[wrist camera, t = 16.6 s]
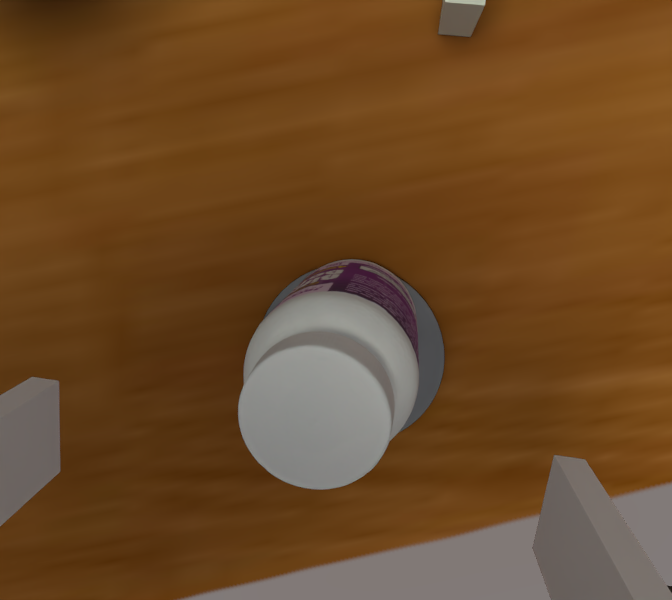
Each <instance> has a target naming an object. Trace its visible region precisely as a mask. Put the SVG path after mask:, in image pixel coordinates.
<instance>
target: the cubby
mask: <svg viewBox="0 0 672 600" xmlns="http://www.w3.org/2000/svg"><path fill="white" fill-rule="evenodd" d="M485 1H486V0H443V3H442V10H441V17H440V24H439V31H438V34H443V35H454V36H465V37H471V35H472V33H473V30H474V28H475V26H476V24H477V22H478V19H479V17H480V15H481V13H482V11H483V8H484V6H485Z"/></svg>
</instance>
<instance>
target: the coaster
mask: <svg viewBox="0 0 672 600" xmlns="http://www.w3.org/2000/svg"><path fill="white" fill-rule="evenodd" d="M317 269H319V268H317ZM317 269H314V270H312V271H310V272H308V273H306V274H304V275H302V276H300V277H299V278H297V279H296V280H294V281H293V282H292V283H290V284H289V285H288V286H287V287H286V288H285V289H284V290H283V291H282V292H281V293H280V294H279V295H278V296H277V298H276V299H275V300H274V301H273V303H272V304H271V306H270V307H269V309H268V311H267V313H266V315H265V317H264V319H265V318H266V317H267V316H268V314H269V313H270V312H271V311H272V310H273V309H274V308H275V307H276V306H277V305H278V304H279V303H280V302H282V300H283V299H284V298H285V297H287V296H288V295H289V294H290V293H291V292H292V291H293V290H294V289H295V288H296V287H297V286H298V285H299V284H300V283H301V282H302V281H303V280H304V279H305V278H306V277H307V276H309V275H310V274H311V273H313V272H314V271H315V270H317ZM395 276H396V275H395ZM396 277H397V278H398V279H399V280H400V281H401V282H402V283H403V284H404V286H405V287H406V289H407V290H408V292H409V294H410V296H411V298H412V301H413V303H414V306H415V310H416V317H417V328H418V354H419V356H418V358H419V387H418V392H417V397H416V400H415V403H414V406H413V409H412V412H411V414H410V416H409V418H408V419H407V421H406V423H405V424H404V426H403V427H402V428H401V430H400V431H402V430H404V429H406V428H407V427H408V426H410V425H411V424H412V423H414V422H415V421H416V420H417V419H418V418H419V417H420V416H421V415H422V414H423V413H424V412H425V410H426V409H427V408H428V406H429V405H430V404H431V402H432V400H433V399H434V397H435V395H436V393H437V391H438V388H439V385H440V383H441V379H442V375H443V369H444V345H443V340H442V335H441V331H440V328H439V325H438V322H437V320H436V318H435V316H434V314H433V312H432V310H431V308H430V307H429V305H428V304H427V302H426V301H425V300H424V299H423V297H422V296H421V295H420V294H419V293H418V292H417V291H416V290H415V289H414V288H413V287H412V286H411V285H409V284H408V283H407V282H405V281H404V280H402V279H401V278H399V277H398V276H396ZM400 431H399V432H400ZM399 432H398V433H399Z"/></svg>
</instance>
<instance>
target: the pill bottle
mask: <svg viewBox="0 0 672 600" xmlns="http://www.w3.org/2000/svg"><path fill="white" fill-rule="evenodd" d="M418 356H419V354H418V328H417V317H416V310H415V306H414V303H413V301H412V298H411V296H410V294H409V292H408V290H407V289H406V287H405V286H404V284H403V283H402V282H401V281H400V280H399V279H398V278H397V277H396V276H395V275H394V274H392V273H391V272H390V271H388V270H387V269H385V268H383V267H381V266H379V265H377V264H375V263H372V262H369V261H364V260H357V259H348V260H340V261H335V262H332V263H329V264H327V265H324V266H322V267H320V268H319V269H317V270H315V271H314V272H313V273H311V274H310V275H309V276H307V277H306V278H305V279H304V280H303V281H302V282H301V283H300V284H299V285H298V286H297V287H296V288H295V289H294V290H293V291H292V292H291V293H290V294H289V295H288V296H287V297H285V298H284V299H283V300H282V302H280V303H279V304H278V305H277V306H276V307H275V308H274V309H273V310H272V311H271V312H270V313H269V314H268V316H267V317H266V318H265V319H264V320H263V321H262V322H261V323H260V325H259V326H258V328H257V329H256V331H255V333H254V335H253V337H252V339H251V341H250V343H249V346H248V349H247V352H246V356H245V361H244V374H243V377H244V385H243V388H242V391H241V394H240V398H239V404H238V419H239V426H240V430H241V434H242V437H243V439H244V442H245V444H246V446H247V447H248V449H249V451H250V452H251V454H252V455H253V457H254V458H255V459H256V460H257V461H258V463H259V464H260V465H262V466H263V467H264V468H265V469H266V470H267V471H268V472H269V473H271V474H272V475H274V476H275V477H277V478H279V479H280V480H282V481H284V482H287V483H289V484H292V485H295V486H298V487H302V488H309V489H331V488H337V487H342V486H345V485H347V484H350V483H352V482H354V481H356V480H358V479H359V478H361V477H363V476H364V475H365V474H367V473H368V472H369V471H371V470H372V469H373V468H374V467H375V465H376V464H377V463H378V462H379V460H380V459H381V457H382V455H383V454H384V452H385V450H386V448H387V446H388V444H389V441H390V440H391V439H392V438H393V437H394V436H395V435H396V434H397V433H398V432H399V431H400V430H401V428H402V427H403V426H404V424H405V423H406V421H407V419H408V418H409V416H410V414H411V412H412V409H413V406H414V403H415V400H416V397H417V392H418V387H419V358H418Z"/></svg>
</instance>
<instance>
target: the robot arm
mask: <svg viewBox="0 0 672 600" xmlns="http://www.w3.org/2000/svg"><path fill="white" fill-rule="evenodd" d="M59 472H60V417H59V381H57V380H50V379H43V378H36V377H31V378H29V379H27V380H26V381H24V382H22V383H21V384H19V385H17V386H15V387H14V388H12V389H10V390H9V391H7V392H5V393H3V394H2V395H0V526H1V525H2V524H3V523H4V522H6V521H7V520H8V519H9V518H10V517H11V516H12V515H13V514H14V513H15V512H17V511H18V510H19V509H20V508H21V507H22V506H23V505H24V504H25V503H26V502H27V501H29V500H30V499H31V498H32V497H33V496H34V495H35V494H36V493H37V492H38V491H39V490H41V489H42V488H43V487H44V486H45V485H46V484H47V483H48V482H49V481H50V480H52V479H53V478H54V477H55V476H56V475H57V474H58V473H59ZM533 551H534V553H535V556H536V559H537V562H538V565H539V567H540V570H541V573H542V576H543V578H544V581H545V584H546V586H547V590H548V592H549V595H550V598H551V600H672V586H667V585H666V584H665V582H664V581H663V579H662V578H661V576H660V575H659V573H658V571H657V570H656V568H655V567H654V565H653V564H652V562H651V561H650V559H649V557H648V556H647V554H646V553H645V551H644V550H643V548H642V547H641V545H640V544H639V542H638V540H637V539H636V537H635V536H634V534H633V533H632V531H631V530H630V528H629V527H628V525H627V523H626V522H625V520H624V519H623V517H622V516H621V514H620V513H619V511H618V510H617V508H616V506H615V505H614V503H613V502H612V500H611V499H610V497H609V496H608V494H607V493H606V491H605V489H604V488H603V486H602V485H601V483H600V482H599V480H598V479H597V477H596V476H595V474H594V472H593V471H592V469H591V468H590V466H589V465H588V463H587V462H586V460H585V459H578V458H572V457H565V456H558V455H554V458H553V462H552V466H551V471H550V475H549V479H548V483H547V488H546V492H545V496H544V501H543V505H542V509H541V514H540V518H539V522H538V527H537V531H536V535H535V540H534V544H533Z"/></svg>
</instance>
